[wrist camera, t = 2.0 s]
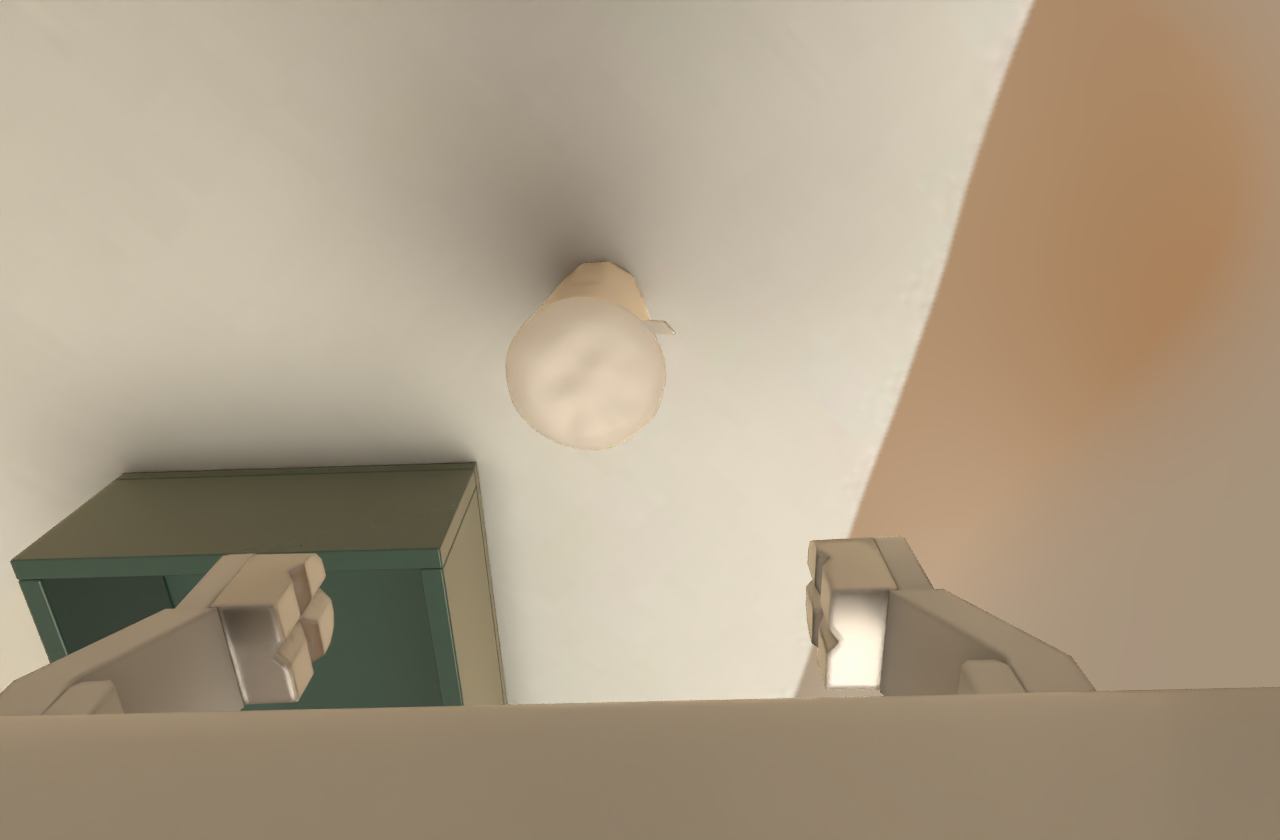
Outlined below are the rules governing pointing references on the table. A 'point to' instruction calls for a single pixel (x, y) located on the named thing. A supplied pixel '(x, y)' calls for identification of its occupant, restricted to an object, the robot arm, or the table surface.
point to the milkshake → (589, 361)
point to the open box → (283, 524)
